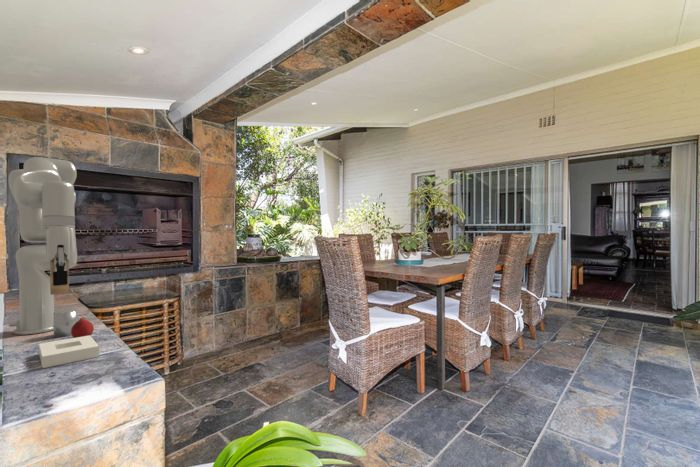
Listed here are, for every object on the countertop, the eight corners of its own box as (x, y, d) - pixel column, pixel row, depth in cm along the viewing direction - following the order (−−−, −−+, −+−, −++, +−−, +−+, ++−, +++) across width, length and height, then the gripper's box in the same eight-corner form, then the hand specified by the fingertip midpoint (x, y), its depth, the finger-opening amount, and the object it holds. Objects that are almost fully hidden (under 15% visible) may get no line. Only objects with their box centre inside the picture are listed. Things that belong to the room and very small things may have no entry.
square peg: (50, 293, 104) (49, 259, 104) (67, 291, 107) (67, 259, 107) (51, 294, 101) (50, 260, 101) (69, 292, 104) (68, 259, 104)
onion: (84, 344, 111) (83, 318, 111) (66, 344, 111) (66, 319, 111) (97, 338, 117) (97, 314, 117) (80, 339, 117) (80, 315, 117)
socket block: (39, 354, 102) (39, 343, 102) (90, 344, 110) (89, 335, 110) (42, 368, 90) (42, 356, 90) (98, 356, 99) (98, 345, 99)
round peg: (48, 337, 119) (48, 314, 120) (62, 332, 126) (62, 310, 126) (69, 336, 120) (69, 313, 120) (82, 331, 127) (82, 309, 127)
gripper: (40, 224, 108) (41, 284, 107) (43, 221, 96) (44, 288, 95) (71, 224, 113) (72, 281, 112) (78, 221, 101) (79, 285, 100)
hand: (59, 283), depth 104 cm, fingers closed on square peg, 4 cm apart
